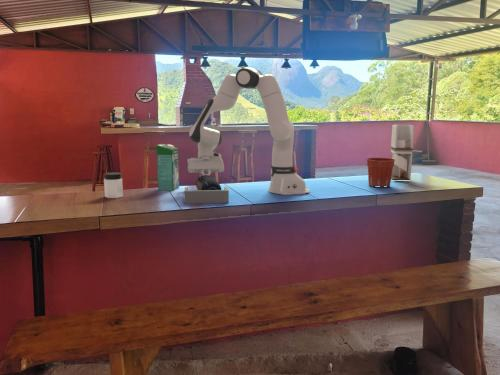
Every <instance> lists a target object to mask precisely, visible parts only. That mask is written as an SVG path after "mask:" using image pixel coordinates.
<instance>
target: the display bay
mask: <svg viewBox="0 0 500 375" xmlns="http://www.w3.org/2000/svg"><path fill="white" fill-rule="evenodd" d="M183 193H184V204H228V203H230V202H229V198H230V197H229V194H230V192H229V187H228V186H224V189H221V190H198V189H197V190H192V189H191V190H189V187H188V186H187V187H186V186H185V187H184V192H183Z"/></svg>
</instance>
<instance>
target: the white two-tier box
mask: <svg viewBox="0 0 500 375" xmlns="http://www.w3.org/2000/svg"><path fill="white" fill-rule="evenodd" d="M391 126H392V130H391V141H390V152H391V153H392V156H391V159H395V161H394V166H393V169H392V176H391V179H392V180H410V181H411V178H412V177H411V176H412V165H413V164H412V163H413V151H414V140H415V138H414V137H415V125H414V124H413V125H412V124H392V125H391Z"/></svg>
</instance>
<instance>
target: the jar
mask: <svg viewBox="0 0 500 375" xmlns="http://www.w3.org/2000/svg"><path fill="white" fill-rule="evenodd" d="M123 185H124V184H123V178H122V173H121V172H118V171H117V172H116V171H115V172H114V171H113V172H105V173H104V178H103V187H104V197H105V198H107V199H119V198H122V197H124V188H123Z"/></svg>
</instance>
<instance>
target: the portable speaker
mask: <svg viewBox="0 0 500 375" xmlns="http://www.w3.org/2000/svg"><path fill="white" fill-rule="evenodd" d="M195 183H196V184H195V187H196V189H197V190H222V186H221V184H220V183H219V182H218V181H217V180H215V179H214V178H213V177H212V176H210V175H209V176H208V175H202V174H201V176H199V177H198V178H197V180H196V182H195Z"/></svg>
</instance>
